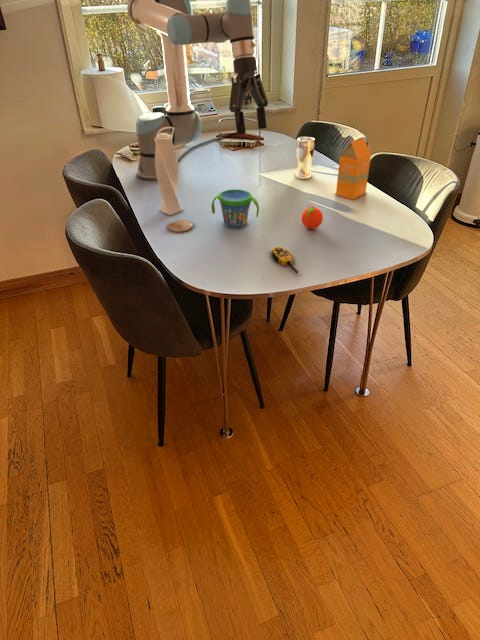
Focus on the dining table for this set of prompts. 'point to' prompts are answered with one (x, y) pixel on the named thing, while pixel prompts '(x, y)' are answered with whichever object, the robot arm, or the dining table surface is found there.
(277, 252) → the yellow walkie talkie
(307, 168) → the beer glass
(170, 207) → the skyscraper
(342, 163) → the orange juice
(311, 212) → the clementine
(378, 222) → the dining table surface
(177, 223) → the cork coaster
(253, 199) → the snack cup
